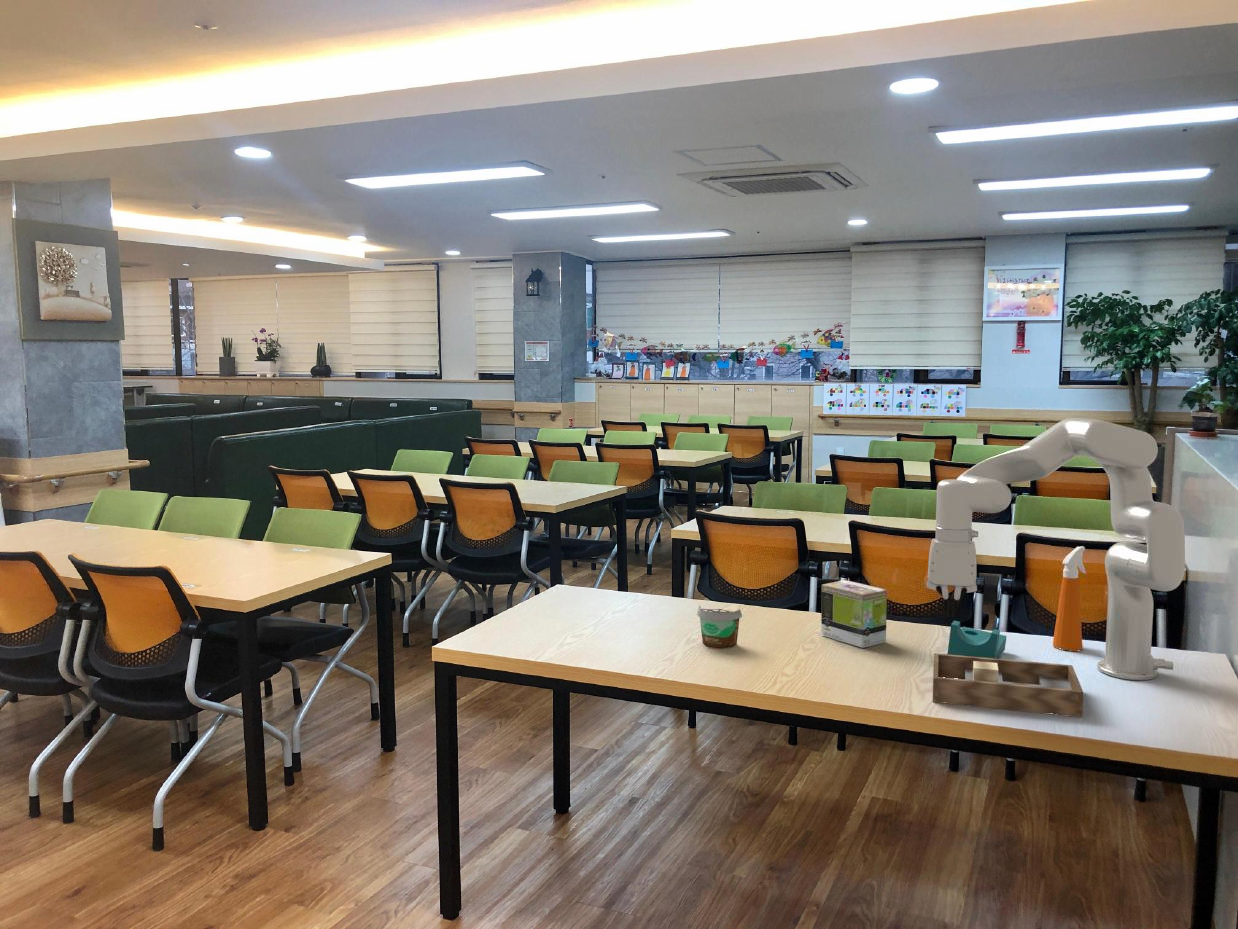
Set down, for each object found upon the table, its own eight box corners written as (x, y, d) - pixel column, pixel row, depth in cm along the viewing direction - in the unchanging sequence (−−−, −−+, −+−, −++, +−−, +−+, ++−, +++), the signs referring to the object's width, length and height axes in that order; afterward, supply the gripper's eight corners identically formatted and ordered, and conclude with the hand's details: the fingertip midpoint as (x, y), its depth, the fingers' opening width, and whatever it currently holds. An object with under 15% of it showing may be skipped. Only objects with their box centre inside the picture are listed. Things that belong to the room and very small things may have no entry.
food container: (691, 647, 245) (691, 610, 244) (698, 640, 250) (697, 605, 249) (736, 652, 240) (736, 615, 239) (742, 645, 246) (742, 609, 245)
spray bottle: (1095, 645, 241) (1099, 547, 238) (1073, 653, 235) (1078, 552, 232) (1069, 639, 247) (1073, 543, 244) (1047, 646, 241) (1051, 548, 238)
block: (996, 684, 207) (997, 663, 206) (997, 692, 202) (998, 670, 201) (972, 682, 208) (973, 661, 208) (973, 689, 204) (974, 668, 203)
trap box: (1071, 688, 210) (1072, 665, 210) (1082, 717, 194) (1083, 692, 193) (933, 675, 220) (934, 653, 220) (932, 702, 204) (933, 678, 203)
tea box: (887, 642, 246) (888, 588, 245) (862, 649, 241) (863, 594, 239) (844, 629, 259) (845, 578, 257) (819, 635, 253) (820, 583, 252)
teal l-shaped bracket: (992, 675, 222) (997, 634, 220) (946, 664, 227) (951, 624, 225) (1004, 654, 237) (1009, 616, 235) (960, 644, 242) (965, 606, 241)
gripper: (988, 534, 205) (985, 614, 207) (918, 530, 210) (916, 608, 212) (990, 540, 198) (986, 623, 200) (917, 536, 203) (915, 617, 205)
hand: (950, 615), depth 206 cm, fingers closed
